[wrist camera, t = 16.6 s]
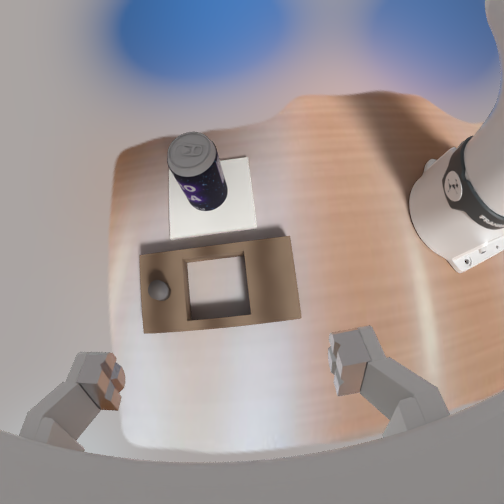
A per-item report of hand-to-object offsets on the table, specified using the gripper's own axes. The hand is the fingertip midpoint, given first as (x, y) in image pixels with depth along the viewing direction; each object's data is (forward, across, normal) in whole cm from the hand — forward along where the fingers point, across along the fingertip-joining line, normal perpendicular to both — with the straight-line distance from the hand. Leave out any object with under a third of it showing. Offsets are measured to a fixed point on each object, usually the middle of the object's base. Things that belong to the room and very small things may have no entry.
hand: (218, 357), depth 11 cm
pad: (+35, +4, +7) cm, 36 cm away
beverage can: (+34, +4, +6) cm, 35 cm away
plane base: (+26, +4, +16) cm, 30 cm away
